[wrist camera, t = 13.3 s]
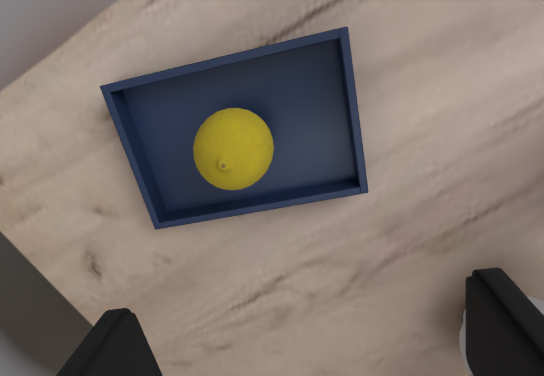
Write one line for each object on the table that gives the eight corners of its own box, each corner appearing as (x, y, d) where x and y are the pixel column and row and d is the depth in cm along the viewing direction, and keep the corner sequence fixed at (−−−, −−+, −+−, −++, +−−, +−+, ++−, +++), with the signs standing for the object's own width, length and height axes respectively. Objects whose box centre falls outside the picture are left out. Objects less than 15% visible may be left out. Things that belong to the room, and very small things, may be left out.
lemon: (249, 86, 26) (232, 100, 19) (289, 145, 28) (287, 178, 20) (195, 126, 27) (159, 153, 20) (235, 179, 29) (215, 222, 22)
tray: (342, 28, 25) (347, 26, 22) (362, 181, 29) (368, 192, 27) (116, 83, 27) (99, 86, 25) (165, 216, 31) (155, 230, 29)
